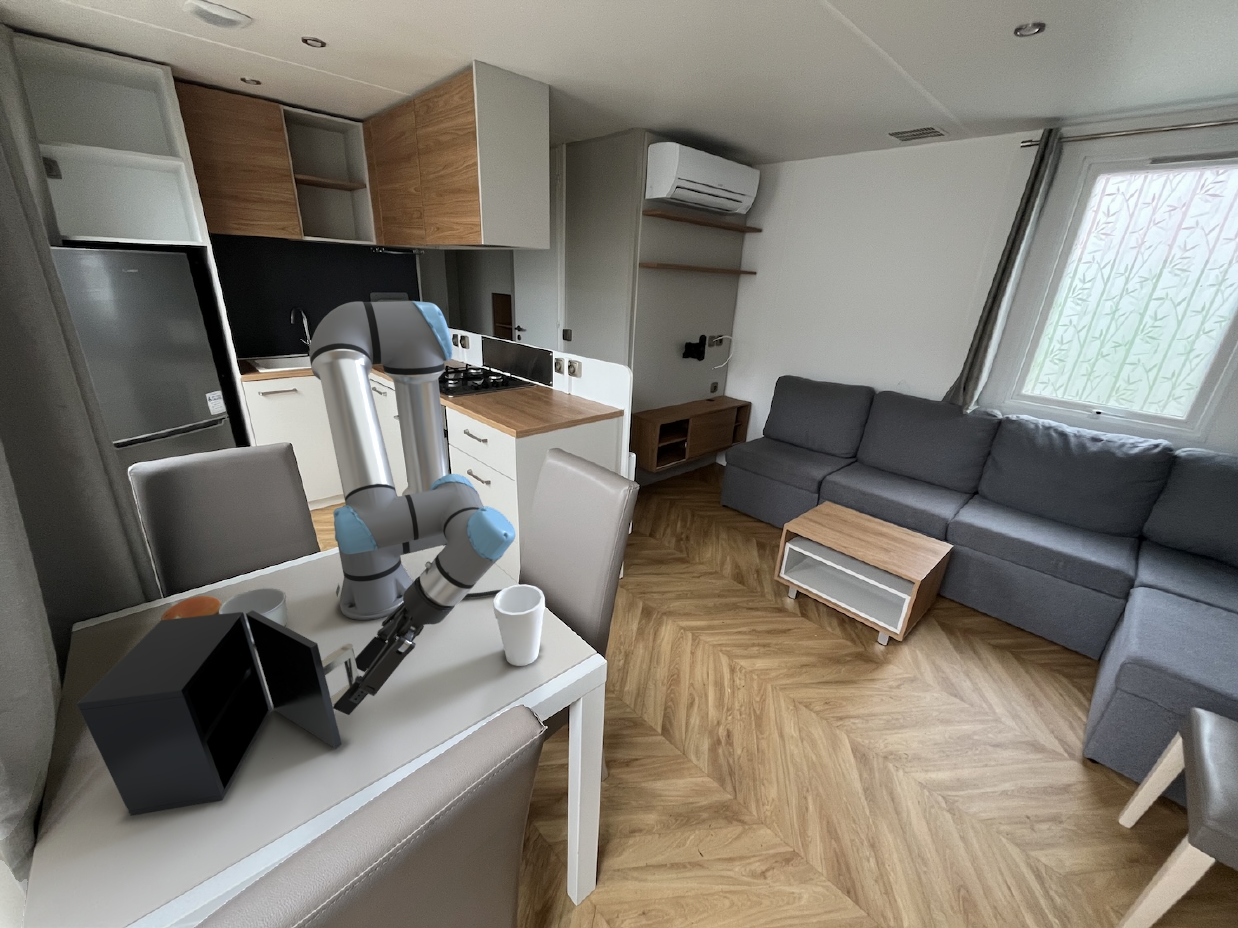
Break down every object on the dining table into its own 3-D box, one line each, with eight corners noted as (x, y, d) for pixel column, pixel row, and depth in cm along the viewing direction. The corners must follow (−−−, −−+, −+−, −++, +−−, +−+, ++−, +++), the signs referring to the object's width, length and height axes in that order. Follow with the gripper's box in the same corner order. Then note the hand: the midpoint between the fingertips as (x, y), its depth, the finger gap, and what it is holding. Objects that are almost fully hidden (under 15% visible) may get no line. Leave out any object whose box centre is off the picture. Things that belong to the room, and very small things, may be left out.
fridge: (272, 709, 84) (243, 611, 77) (222, 800, 69) (180, 690, 62) (198, 719, 81) (161, 619, 74) (130, 816, 67) (76, 703, 60)
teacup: (250, 618, 105) (241, 586, 103) (303, 616, 106) (295, 584, 104) (204, 665, 92) (192, 631, 90) (265, 663, 93) (255, 628, 91)
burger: (230, 604, 109) (224, 587, 108) (218, 630, 102) (212, 612, 100) (173, 616, 105) (167, 598, 104) (157, 644, 98) (150, 625, 96)
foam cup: (556, 654, 97) (554, 599, 93) (517, 679, 91) (513, 621, 86) (526, 631, 103) (523, 578, 99) (488, 654, 97) (483, 598, 92)
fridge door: (313, 682, 89) (289, 590, 82) (373, 717, 82) (354, 620, 75) (274, 709, 83) (245, 613, 76) (336, 749, 77) (310, 647, 70)
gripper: (427, 545, 86) (348, 634, 89) (404, 621, 67) (304, 732, 69) (462, 567, 89) (385, 652, 92) (450, 646, 70) (352, 752, 72)
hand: (350, 687), depth 81 cm, fingers open, 8 cm apart
